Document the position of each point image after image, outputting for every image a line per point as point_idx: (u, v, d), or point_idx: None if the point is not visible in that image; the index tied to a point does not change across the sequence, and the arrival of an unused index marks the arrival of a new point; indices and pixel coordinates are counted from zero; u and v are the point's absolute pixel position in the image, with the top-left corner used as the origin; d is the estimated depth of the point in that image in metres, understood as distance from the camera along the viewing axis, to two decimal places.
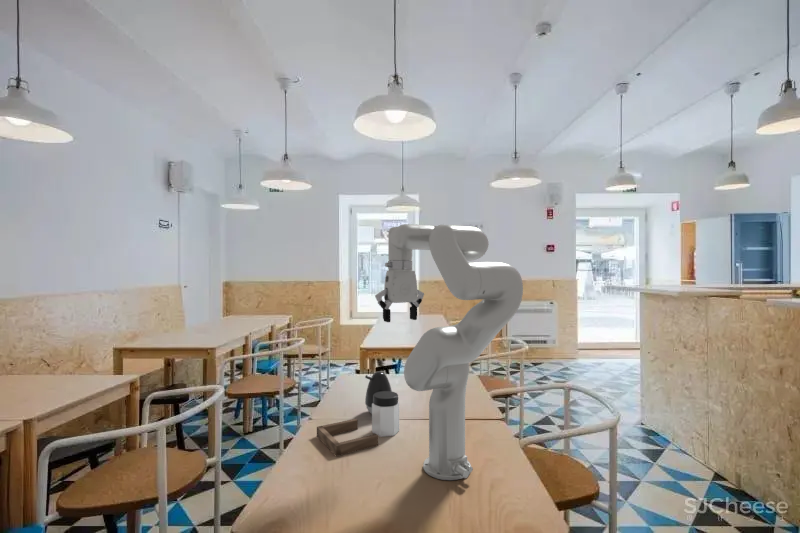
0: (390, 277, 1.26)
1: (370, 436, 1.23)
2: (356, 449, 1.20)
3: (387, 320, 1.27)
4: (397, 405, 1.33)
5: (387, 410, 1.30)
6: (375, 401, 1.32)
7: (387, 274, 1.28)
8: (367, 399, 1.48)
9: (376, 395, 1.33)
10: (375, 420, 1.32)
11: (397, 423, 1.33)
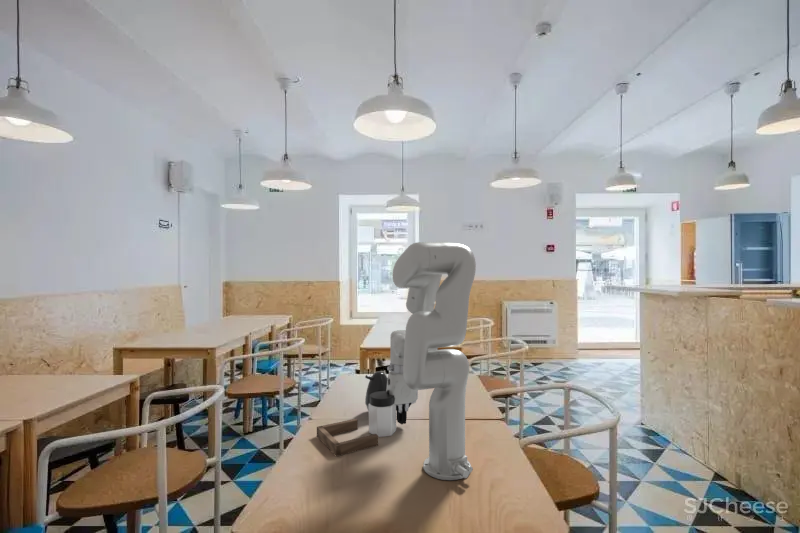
0: (392, 381, 1.34)
1: (370, 436, 1.23)
2: (356, 449, 1.20)
3: (400, 422, 1.37)
4: (394, 405, 1.33)
5: (384, 410, 1.30)
6: (372, 401, 1.31)
7: (389, 377, 1.35)
8: (367, 399, 1.48)
9: (372, 395, 1.33)
10: (372, 420, 1.32)
11: (394, 423, 1.33)
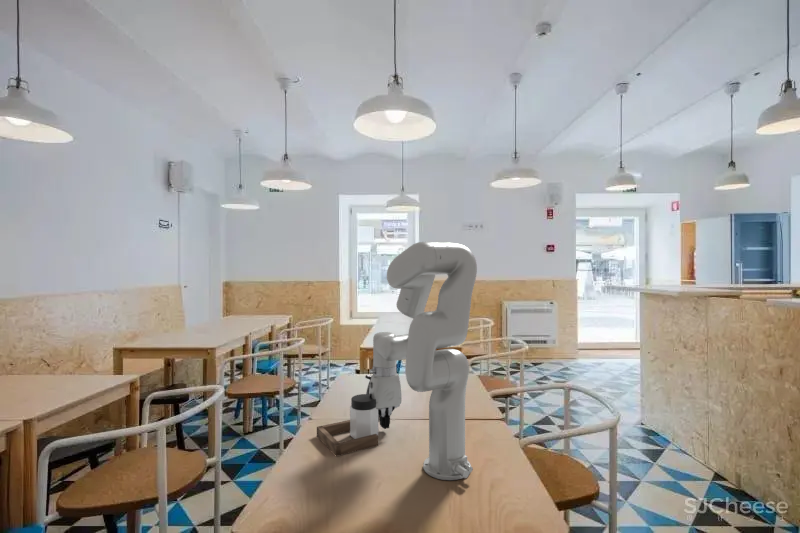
0: (374, 384, 1.30)
1: (370, 436, 1.23)
2: (356, 449, 1.20)
3: (383, 427, 1.33)
4: (375, 409, 1.30)
5: (363, 414, 1.27)
6: (352, 404, 1.29)
7: (371, 380, 1.32)
8: None
9: (354, 398, 1.31)
10: (352, 423, 1.29)
11: (375, 428, 1.30)
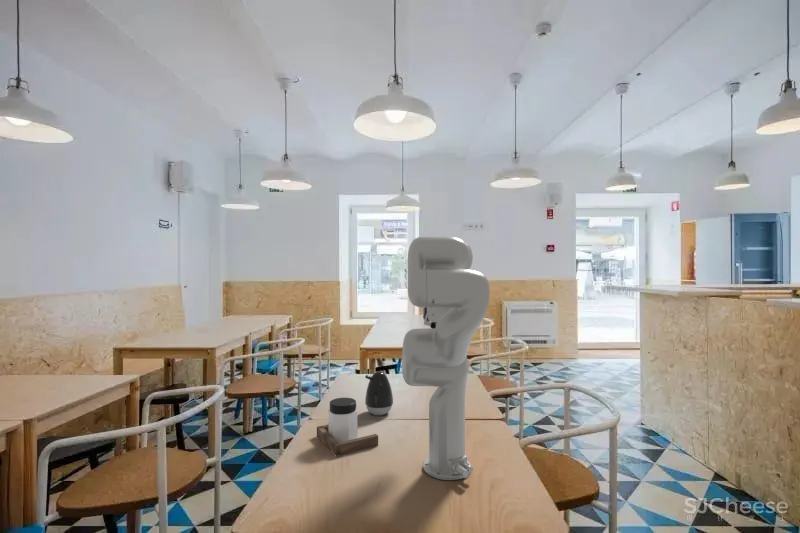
0: None
1: (370, 436, 1.23)
2: (356, 449, 1.20)
3: None
4: (354, 413, 1.26)
5: (341, 418, 1.24)
6: (330, 408, 1.26)
7: None
8: (367, 399, 1.48)
9: (332, 401, 1.27)
10: (330, 428, 1.26)
11: (354, 432, 1.26)
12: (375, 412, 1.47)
